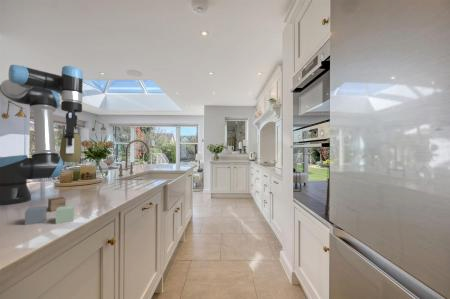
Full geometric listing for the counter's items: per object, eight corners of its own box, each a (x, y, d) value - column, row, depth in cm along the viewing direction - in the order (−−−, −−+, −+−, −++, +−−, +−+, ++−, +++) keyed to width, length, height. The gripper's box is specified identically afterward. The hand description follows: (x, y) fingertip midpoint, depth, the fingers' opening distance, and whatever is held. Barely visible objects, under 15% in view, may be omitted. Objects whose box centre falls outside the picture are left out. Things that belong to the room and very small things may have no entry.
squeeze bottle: (58, 162, 87) (59, 119, 87) (59, 161, 93) (60, 121, 93) (82, 161, 92) (82, 121, 92) (81, 161, 98) (82, 123, 98)
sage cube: (57, 220, 79) (58, 207, 79) (74, 218, 81) (74, 205, 81) (55, 224, 74) (55, 210, 74) (72, 221, 77) (73, 208, 77)
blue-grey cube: (28, 221, 77) (28, 207, 77) (46, 218, 80) (46, 205, 80) (24, 225, 73) (25, 211, 73) (43, 222, 76) (43, 209, 76)
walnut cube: (48, 209, 92) (48, 198, 92) (62, 207, 96) (62, 196, 96) (51, 212, 89) (51, 200, 89) (65, 209, 92) (65, 198, 92)
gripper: (64, 105, 99) (63, 152, 99) (57, 96, 82) (56, 153, 82) (83, 107, 103) (82, 152, 103) (80, 98, 86) (79, 153, 86)
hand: (71, 153), depth 92 cm, fingers closed on squeeze bottle, 8 cm apart
